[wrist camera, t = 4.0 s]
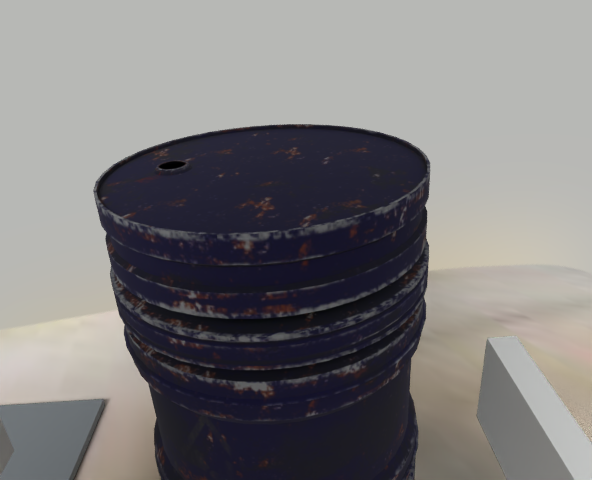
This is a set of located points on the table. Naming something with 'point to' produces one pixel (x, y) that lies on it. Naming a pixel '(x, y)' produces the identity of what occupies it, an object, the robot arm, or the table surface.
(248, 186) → the rusty oil drum
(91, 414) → the pad
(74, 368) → the table surface
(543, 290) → the table surface
